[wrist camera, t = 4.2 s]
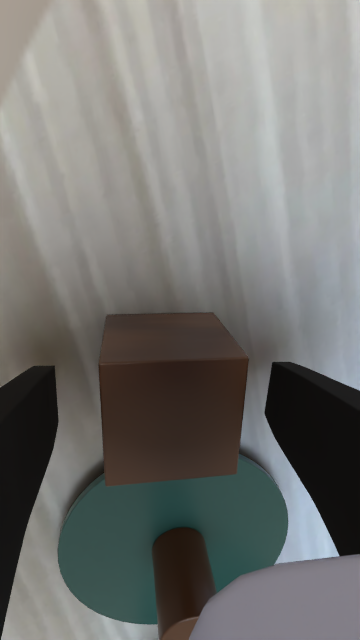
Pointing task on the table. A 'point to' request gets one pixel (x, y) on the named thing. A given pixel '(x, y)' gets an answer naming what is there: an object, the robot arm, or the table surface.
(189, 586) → the lid
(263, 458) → the table surface
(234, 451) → the block
